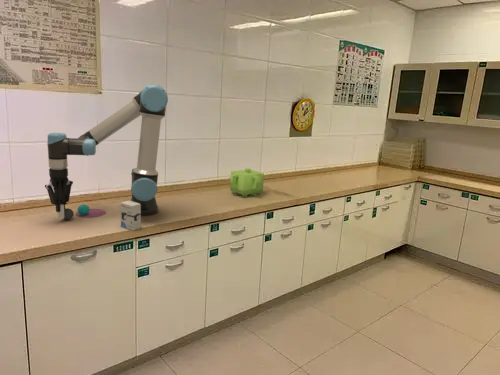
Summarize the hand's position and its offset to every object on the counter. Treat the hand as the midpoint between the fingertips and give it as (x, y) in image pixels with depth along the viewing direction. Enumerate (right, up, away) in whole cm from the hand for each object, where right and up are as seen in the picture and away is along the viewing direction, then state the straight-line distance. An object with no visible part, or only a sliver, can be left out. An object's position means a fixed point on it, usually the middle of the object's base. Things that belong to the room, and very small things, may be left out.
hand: (61, 217), depth 175 cm
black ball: (+1, +2, +3) cm, 4 cm away
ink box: (+32, -5, -1) cm, 33 cm away
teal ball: (+6, +3, +11) cm, 13 cm away
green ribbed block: (+85, +9, +73) cm, 112 cm away
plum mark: (+7, +1, +15) cm, 17 cm away
